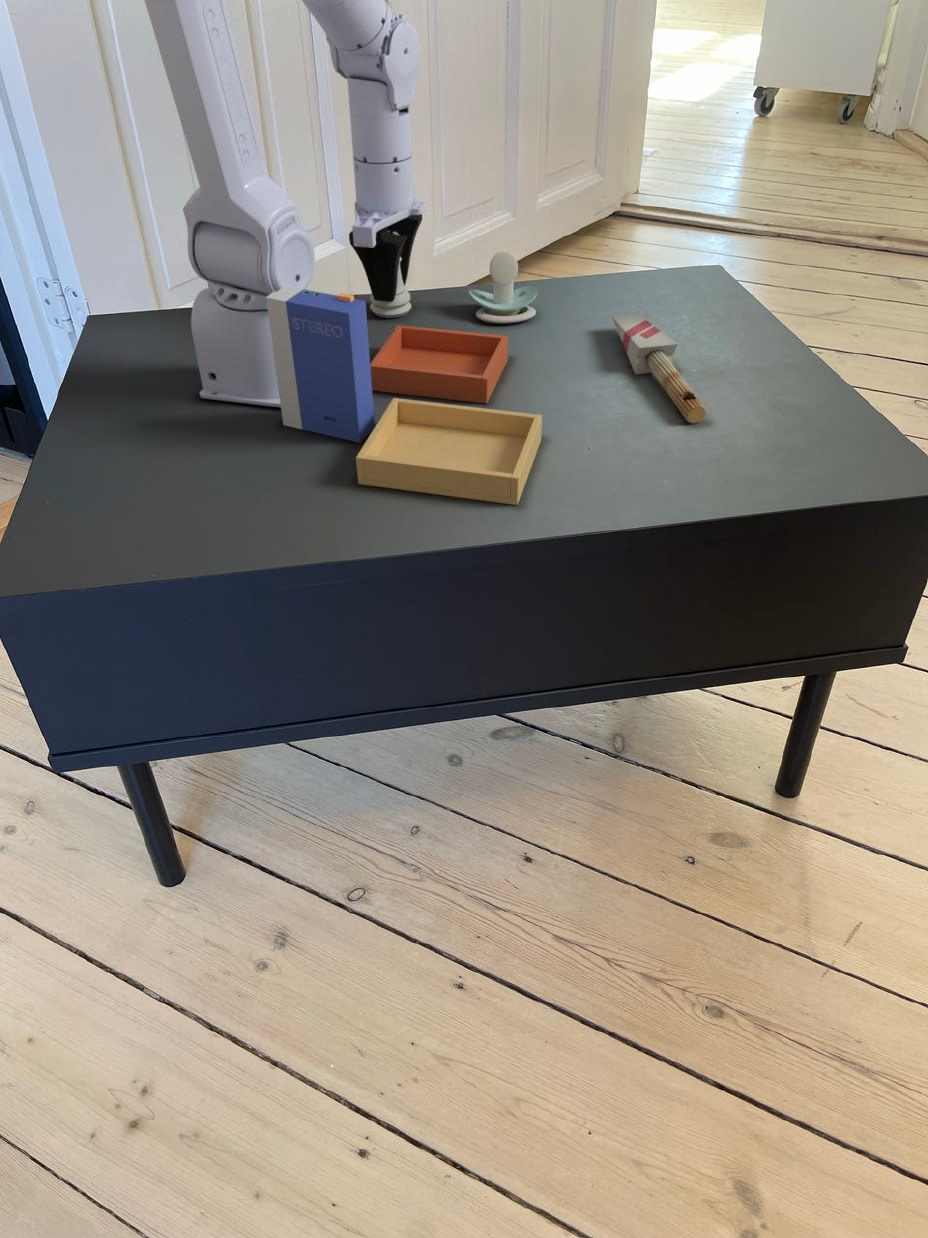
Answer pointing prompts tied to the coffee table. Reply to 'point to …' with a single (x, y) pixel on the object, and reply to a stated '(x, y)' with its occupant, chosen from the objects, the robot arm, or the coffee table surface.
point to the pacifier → (504, 293)
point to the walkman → (322, 362)
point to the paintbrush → (657, 361)
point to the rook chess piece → (400, 302)
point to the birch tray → (451, 450)
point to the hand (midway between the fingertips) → (389, 292)
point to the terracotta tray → (440, 363)
